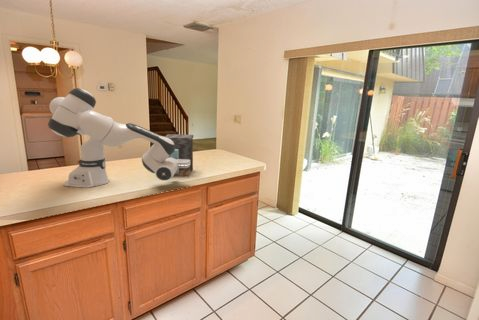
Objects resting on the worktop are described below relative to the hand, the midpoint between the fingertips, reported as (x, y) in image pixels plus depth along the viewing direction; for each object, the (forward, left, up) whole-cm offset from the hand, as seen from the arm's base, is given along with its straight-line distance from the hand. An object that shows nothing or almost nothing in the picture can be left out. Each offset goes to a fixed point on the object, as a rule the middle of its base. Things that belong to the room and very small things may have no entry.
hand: (174, 160), depth 150 cm
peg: (0, -1, -7) cm, 8 cm away
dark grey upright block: (0, +17, -13) cm, 22 cm away
